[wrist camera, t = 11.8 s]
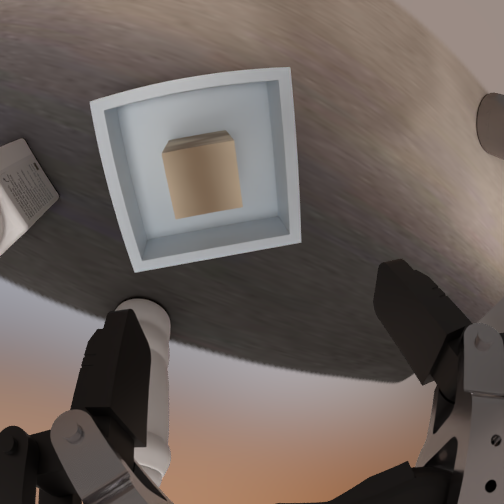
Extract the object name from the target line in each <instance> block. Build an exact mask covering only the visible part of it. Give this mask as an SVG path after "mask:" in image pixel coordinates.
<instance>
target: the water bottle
mask: <svg viewBox="0 0 504 504" xmlns="http://www.w3.org/2000/svg"><path fill="white" fill-rule="evenodd" d="M124 309H132V310H133V311H134V312H135V314H136V317H137V319H138V321H139V323H140V326H141V328H142V330H143V332H144V334H145V337H146V339H147V341H148V343H149V347H150V351H151V370H150V383H149V398H148V416H147V445H146V447H134V459H135V460H136V461H137V462H138V464H139V465H140V466H141V467H142V469H143V470H144V471H145V472H146V473H147V475H148V476H149V477H150V478H151V479H152V481H153V482H154V483H155V484H156V485H157V486H158V487H159V486H160V484H161V481H162V478H163V476H164V475H165V473H166V471H167V469H168V467H169V465H170V461H171V453H170V449H169V446H168V435H169V382H168V371H167V368H168V364H169V344H168V343H169V339H170V327H171V325H170V319H169V316H168V314H167V313H166V311H165V310H164V309H163V308H162V307H161V306H159V305H158V304H156V303H154V302H152V301H149V300H146V299H130V300H127V301H125V302H123V303H121V304H120V305H119V306H118V307H117V308H116V310H115V311H117V310H124Z"/></svg>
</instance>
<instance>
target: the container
mask: <svg viewBox="0 0 504 504" xmlns="http://www.w3.org/2000/svg"><path fill="white" fill-rule="evenodd" d="M58 198H59V195H58V193H57V192H56V190H55V189H54V187H53V186H52V184H51V183H50V181H49V179H48V178H47V176H46V175H45V173H44V172H43V170H42V168H41V167H40V165H39V163H38V162H37V160H36V158H35V157H34V155H33V153H32V152H31V150H30V148H29V147H28V145H27V143H26V141H25V140H24V139H22V138H21V139H18V140H16V141H13V142H11V143H9V144H6V145H4V146H1V147H0V256H1V255H2V254H3V253H4V252H5V251H6V250H7V249H8V248H9V247H10V246H11V245H12V244H13V243H14V242H15V241H16V240H17V239H19V238H20V237H21V236H22V235H23V234H24V233H25V232H26V231H27V230H28V229H29V228H30V227H31V226H32V225H33V224H34V223H35V222H36V221H37V220H38V219H39V218H40V217H41V216H42V215H43V214H44V213H45V212H46V211H47V210H48V209H49V208H50V207H51V206H52V205H53V204H54V203H55V202H56V201H57V200H58Z"/></svg>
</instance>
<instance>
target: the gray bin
mask: <svg viewBox="0 0 504 504" xmlns="http://www.w3.org/2000/svg"><path fill="white" fill-rule="evenodd" d="M90 107H91V112H92V118H93V123H94V128H95V133H96V138H97V143H98V147H99V152H100V156H101V160H102V164H103V169H104V173H105V177H106V180H107V184H108V188H109V192H110V195H111V199H112V203H113V206H114V210H115V213H116V217H117V220H118V223H119V226H120V230H121V233H122V236H123V239H124V242H125V245H126V248H127V251H128V254H129V257H130V260H131V263H132V266H133V269H134V272H141V271H146V270H152V269H157V268H163V267H168V266H174V265H179V264H185V263H190V262H196V261H201V260H207V259H213V258H218V257H224V256H229V255H235V254H240V253H246V252H251V251H257V250H262V249H268V248H273V247H279V246H284V245H290V244H296V243H301V219H300V195H299V175H298V157H297V142H296V127H295V114H294V102H293V91H292V80H291V70H290V67H279V68H262V69H249V70H239V71H230V72H221V73H214V74H207V75H200V76H194V77H188V78H182V79H177V80H172V81H167V82H162V83H157V84H153V85H148V86H144V87H140V88H136V89H132V90H128V91H124V92H121V93H117V94H113V95H110V96H107V97H103V98H100V99H97V100H94V101H90ZM224 130H226V131H227V132H228V133H229V135H230V136H231V137H232V138H233V140H234V143H235V151H236V158H237V166H238V174H239V181H240V189H241V197H242V204H243V207H241V208H235V209H229V210H224V211H218V212H213V213H207V214H202V215H196V216H191V217H186V218H181V219H175V215H174V210H173V206H172V201H171V197H170V192H169V188H168V183H167V178H166V174H165V169H164V164H163V159H162V152H163V150H164V148H165V146H166V145H167V143H168V141H169V140H173V139H178V138H183V137H189V136H194V135H200V134H205V133H211V132H217V131H224Z"/></svg>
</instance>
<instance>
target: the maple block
mask: <svg viewBox="0 0 504 504" xmlns="http://www.w3.org/2000/svg"><path fill="white" fill-rule="evenodd" d="M162 159H163V164H164V169H165V174H166V178H167V183H168V188H169V192H170V197H171V201H172V206H173V210H174V215H175V219H181V218H186V217H191V216H196V215H202V214H207V213H213V212H218V211H224V210H229V209H235V208H241V207H243V204H242V197H241V189H240V181H239V174H238V166H237V158H236V151H235V143H234V140H233V138H232V137H231V136H230V135H229V133H228V132H227V131H226V130H224V131H217V132H211V133H205V134H200V135H194V136H189V137H183V138H178V139H173V140H169V141H168V143H167V145H166V146H165V148H164V150H163V152H162Z"/></svg>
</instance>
